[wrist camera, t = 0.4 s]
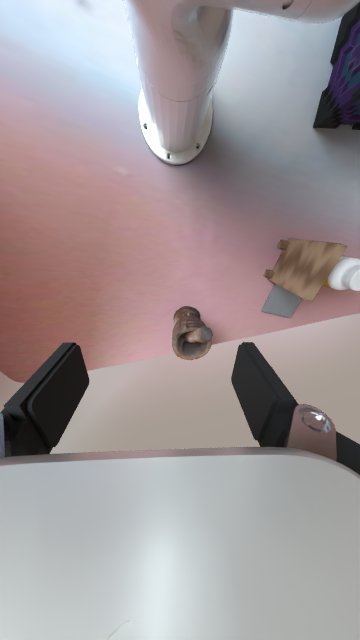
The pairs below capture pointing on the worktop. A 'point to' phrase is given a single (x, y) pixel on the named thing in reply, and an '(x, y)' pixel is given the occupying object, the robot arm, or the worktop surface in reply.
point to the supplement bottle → (345, 274)
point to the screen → (305, 266)
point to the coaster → (281, 302)
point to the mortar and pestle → (190, 334)
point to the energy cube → (343, 78)
